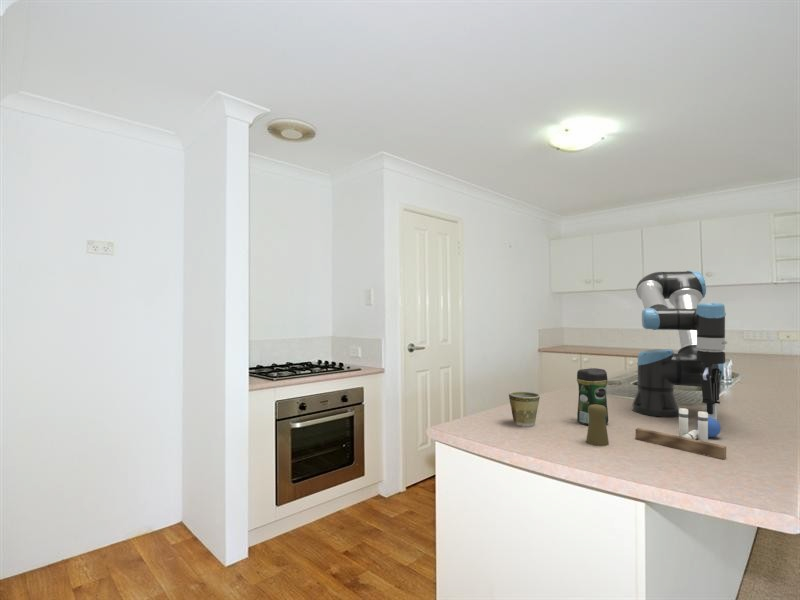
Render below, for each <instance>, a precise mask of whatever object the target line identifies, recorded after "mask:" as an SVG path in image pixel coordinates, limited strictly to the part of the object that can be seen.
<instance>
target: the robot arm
mask: <svg viewBox="0 0 800 600" xmlns="http://www.w3.org/2000/svg"><path fill="white" fill-rule="evenodd" d="M635 290H636V291H635V293H636V295H637V297H638V298H639V300H641V302H642V305H643V307H644V309H643V310H642V312H641V325H642V328H643V329H645V330H653V331H657V330H663V331H665V330H667V331H668V330H669V331H671V330H672V331H676V330H677V332H678V337H679V344H680V348H679V349H678V351H677V353H675V351H674V350H673V349H670V348H664V349H663V348H662V349H661V348H660V349H658V348H657V349H656V348H655V349H649V350H643V351H640V352H639V353H638V356H637V362H636V365H637V390H636V391H637V392H636V393H635V397H634V399H633V401H632V410H633V412H635V413H638V414H642V415H647V416H653V417H654V416H655V417H666V418H667V417H668V418H669V417H671V418H672V417H677V416H678V417H679V408H680V407H679V405H678V402H677V399H676V395H675V393H674V387H675V386H682V387H683V386H684V387H697V388H698V387H700V388H701V393H702V401H701V403H703V404H705V405H704V406H705V411H704V412H707V413H708V417H711V418H714V419H715V420H717V421H718V404H719V405H720V404H721V401H720V393H721V392H720V391H721V389H720V388H721V383H722V380H723V375H724V364H725V363H726V352H725V350H726V344H728V341H727V340H726V308H725V304H724V303H722V302H702V300H703V299H704V298H705V297H706V295H707V294H706V293H707V286H706V280H705V277H704V275H703V274H702V273H701V272H699V271H695V270H685V271H656V272H652V273H650V274H647V275H646V276H644V277H642V278H641V279H640V280H639V281H638V282H637V285H636V288H635ZM666 300H668V302H669V303H670V304H671V305H672V306H674V308H669V306H668V303H667V301H666Z"/></svg>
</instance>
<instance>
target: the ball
mask: <svg viewBox="0 0 800 600" xmlns="http://www.w3.org/2000/svg"><path fill="white" fill-rule="evenodd" d="M696 428H697V429H696V430H698V421H697V422H696ZM721 429H722V426H721V424H720V422H719V421H718V419H717V420H715V419H714V418H711V417H708V438H715V437H717V436H718V435H719V434H721Z"/></svg>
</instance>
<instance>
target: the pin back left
mask: <svg viewBox="0 0 800 600" xmlns="http://www.w3.org/2000/svg"><path fill="white" fill-rule="evenodd" d="M688 432H689V409H688V408H684V407H679V415H678V436H680V437H682V436H683V435H684V434H686V433H688Z"/></svg>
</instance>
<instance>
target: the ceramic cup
mask: <svg viewBox="0 0 800 600" xmlns="http://www.w3.org/2000/svg"><path fill="white" fill-rule="evenodd" d="M540 396H541V395H540V394H538V393H536V392H531V391H511V392H509V393H508V397H509V404H510V408H511V415H512V422H513V423H514V425H516V426H518V427H523V428H525V427H527V428H530V427H533V426H535V424H536V421H537V414H538V409H539V406H540V405H539V404H540Z"/></svg>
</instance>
